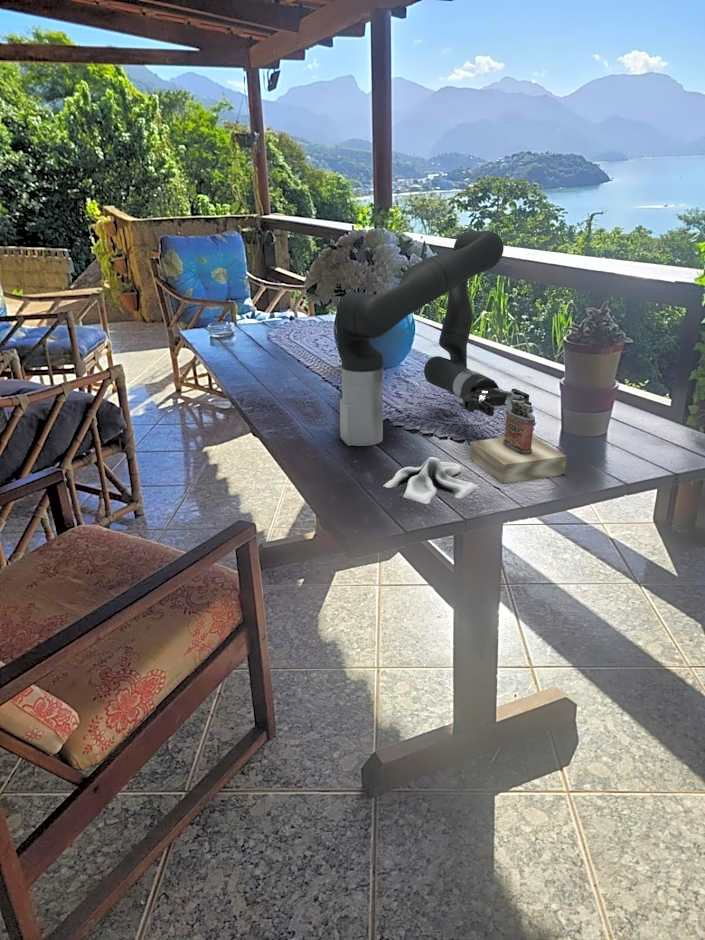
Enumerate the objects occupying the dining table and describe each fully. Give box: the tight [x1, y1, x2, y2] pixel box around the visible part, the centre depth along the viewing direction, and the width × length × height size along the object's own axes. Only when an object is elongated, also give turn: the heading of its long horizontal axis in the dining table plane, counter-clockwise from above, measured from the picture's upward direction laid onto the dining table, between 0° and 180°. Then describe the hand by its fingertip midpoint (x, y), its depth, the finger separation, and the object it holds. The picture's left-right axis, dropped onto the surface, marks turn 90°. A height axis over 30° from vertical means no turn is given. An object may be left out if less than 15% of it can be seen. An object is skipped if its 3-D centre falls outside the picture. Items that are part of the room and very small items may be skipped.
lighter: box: [503, 400, 536, 455], centre depth 135 cm, size 8×3×10 cm, turn 21°
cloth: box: [382, 456, 480, 505], centre depth 130 cm, size 22×19×6 cm
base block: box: [469, 435, 567, 484], centre depth 138 cm, size 14×14×4 cm
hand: (510, 409), depth 137 cm, fingers open, 8 cm apart
